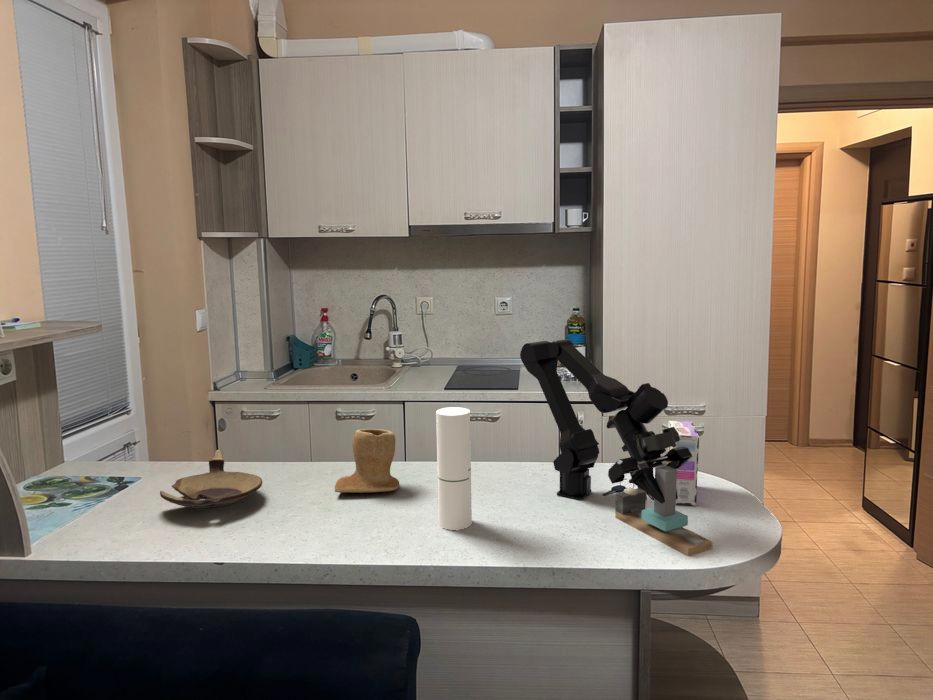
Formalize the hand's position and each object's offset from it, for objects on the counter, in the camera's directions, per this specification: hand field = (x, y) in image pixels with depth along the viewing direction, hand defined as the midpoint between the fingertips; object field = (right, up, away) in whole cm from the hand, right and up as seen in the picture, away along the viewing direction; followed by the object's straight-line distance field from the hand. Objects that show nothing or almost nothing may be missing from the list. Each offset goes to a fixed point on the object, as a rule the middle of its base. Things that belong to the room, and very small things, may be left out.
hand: (669, 501), depth 145 cm
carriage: (-1, -5, +2) cm, 5 cm away
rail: (-1, -7, +3) cm, 8 cm away
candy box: (+9, -4, +24) cm, 26 cm away
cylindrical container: (-44, -7, +9) cm, 45 cm away
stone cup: (-65, -4, +31) cm, 72 cm away
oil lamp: (-100, -5, +26) cm, 104 cm away
